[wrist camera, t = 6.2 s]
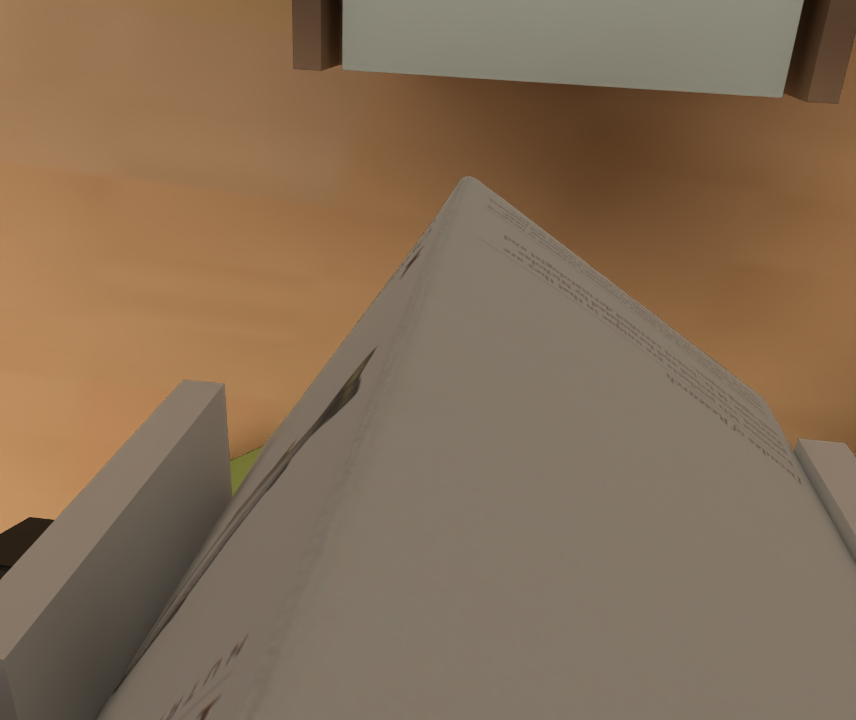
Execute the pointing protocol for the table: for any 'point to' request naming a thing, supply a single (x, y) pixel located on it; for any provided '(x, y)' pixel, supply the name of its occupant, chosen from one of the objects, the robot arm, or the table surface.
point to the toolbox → (807, 78)
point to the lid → (580, 42)
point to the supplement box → (511, 520)
